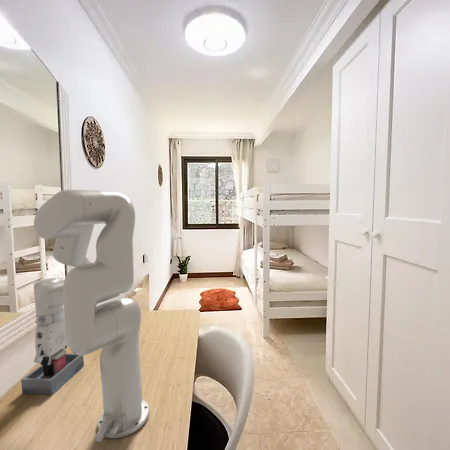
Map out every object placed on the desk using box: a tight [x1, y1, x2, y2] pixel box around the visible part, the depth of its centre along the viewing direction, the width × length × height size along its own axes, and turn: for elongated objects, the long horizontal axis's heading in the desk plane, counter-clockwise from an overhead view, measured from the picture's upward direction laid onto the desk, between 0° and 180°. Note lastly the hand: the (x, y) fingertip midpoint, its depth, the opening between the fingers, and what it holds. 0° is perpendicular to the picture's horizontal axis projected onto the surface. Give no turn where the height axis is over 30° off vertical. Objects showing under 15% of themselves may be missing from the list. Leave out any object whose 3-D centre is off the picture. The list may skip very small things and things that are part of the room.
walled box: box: [20, 352, 85, 396], centre depth 88 cm, size 15×10×4 cm, turn 173°
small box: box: [43, 349, 66, 378], centre depth 88 cm, size 5×4×8 cm
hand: (55, 370), depth 88 cm, fingers closed on small box, 4 cm apart
